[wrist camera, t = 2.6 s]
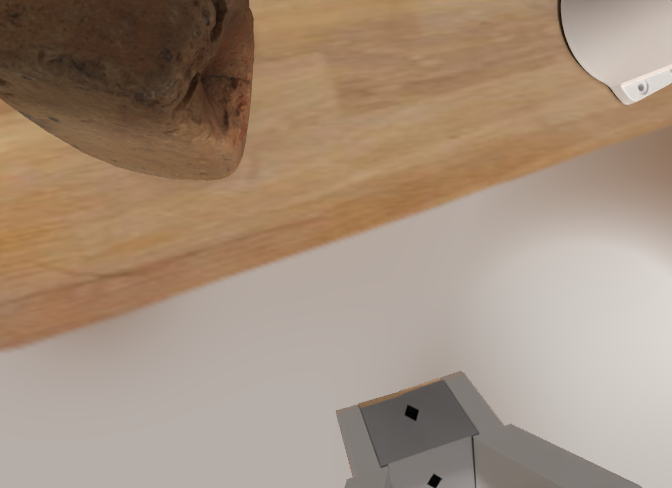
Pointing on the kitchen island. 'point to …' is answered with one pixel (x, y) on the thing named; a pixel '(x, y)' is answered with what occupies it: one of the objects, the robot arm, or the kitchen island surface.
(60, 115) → the block
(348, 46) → the kitchen island surface
